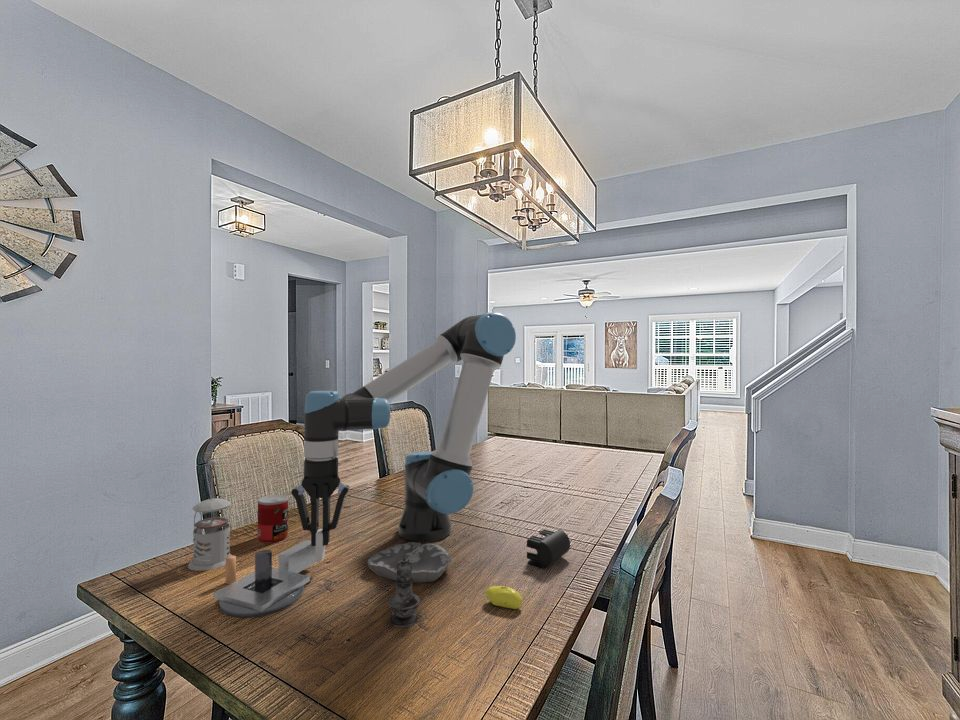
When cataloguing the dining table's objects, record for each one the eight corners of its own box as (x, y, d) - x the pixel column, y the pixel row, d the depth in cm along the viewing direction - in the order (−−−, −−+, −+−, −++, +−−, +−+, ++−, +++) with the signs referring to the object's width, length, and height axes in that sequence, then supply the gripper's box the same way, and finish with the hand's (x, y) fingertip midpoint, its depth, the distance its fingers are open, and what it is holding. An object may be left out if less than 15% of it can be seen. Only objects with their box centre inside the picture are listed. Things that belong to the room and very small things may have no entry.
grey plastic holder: (261, 611, 86) (261, 585, 86) (212, 598, 91) (213, 573, 91) (332, 566, 106) (333, 544, 106) (289, 557, 110) (289, 536, 110)
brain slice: (460, 557, 115) (460, 545, 115) (441, 590, 98) (441, 576, 98) (387, 550, 119) (388, 539, 119) (357, 581, 102) (357, 568, 102)
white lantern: (200, 574, 104) (201, 466, 104) (176, 562, 110) (176, 460, 110) (242, 558, 112) (243, 458, 112) (217, 548, 119) (217, 453, 119)
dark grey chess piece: (390, 611, 89) (390, 550, 89) (420, 610, 90) (420, 549, 90) (386, 629, 83) (387, 564, 83) (418, 627, 84) (419, 563, 84)
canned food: (277, 544, 121) (277, 503, 121) (250, 541, 123) (251, 501, 123) (294, 533, 129) (294, 495, 129) (269, 531, 130) (269, 493, 130)
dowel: (237, 580, 101) (238, 556, 101) (231, 584, 99) (231, 559, 99) (230, 579, 102) (230, 555, 102) (223, 583, 100) (223, 559, 100)
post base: (318, 581, 101) (318, 541, 101) (272, 621, 85) (272, 574, 85) (255, 574, 104) (255, 535, 104) (200, 612, 89) (200, 566, 89)
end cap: (551, 573, 106) (551, 544, 106) (525, 565, 110) (525, 537, 110) (570, 558, 114) (570, 532, 114) (545, 551, 118) (545, 525, 118)
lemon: (517, 616, 88) (517, 596, 88) (481, 605, 92) (481, 586, 92) (525, 605, 92) (525, 586, 92) (490, 595, 96) (491, 577, 96)
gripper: (352, 453, 109) (351, 551, 109) (296, 454, 108) (295, 553, 108) (347, 460, 102) (346, 565, 102) (287, 461, 100) (286, 567, 100)
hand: (320, 559), depth 105 cm, fingers closed
